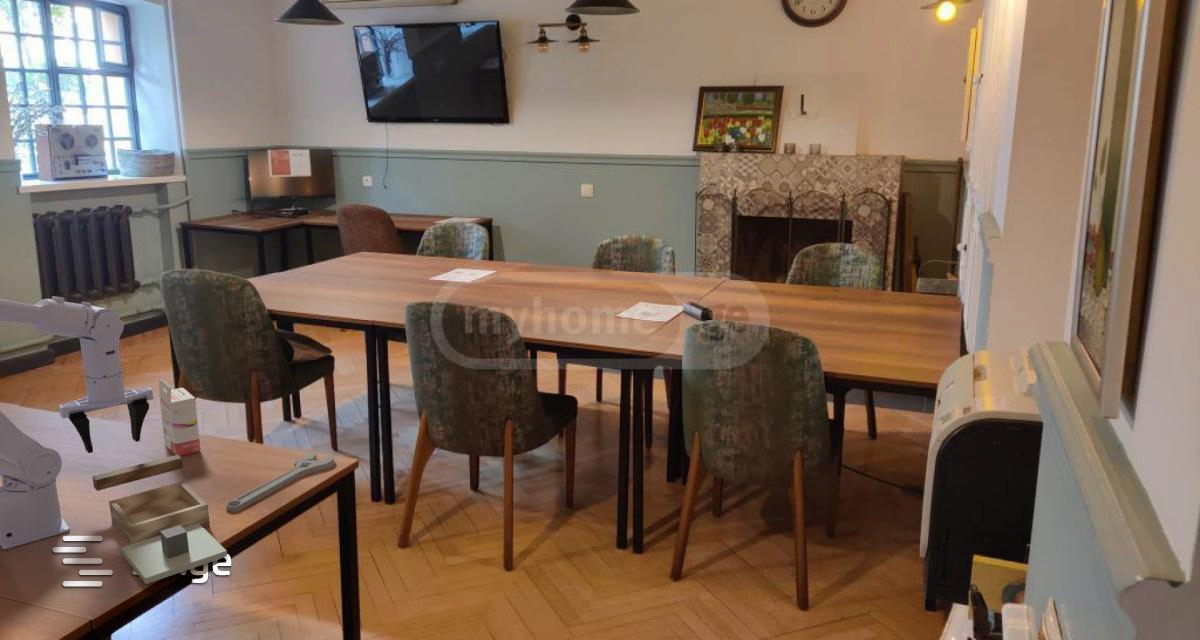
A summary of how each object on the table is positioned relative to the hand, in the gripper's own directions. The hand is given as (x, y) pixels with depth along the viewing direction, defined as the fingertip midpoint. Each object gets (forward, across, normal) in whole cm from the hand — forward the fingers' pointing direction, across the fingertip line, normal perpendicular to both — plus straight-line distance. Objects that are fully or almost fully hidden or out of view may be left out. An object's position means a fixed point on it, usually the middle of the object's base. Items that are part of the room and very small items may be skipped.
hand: (113, 445), depth 155 cm
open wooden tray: (+10, +2, -16) cm, 19 cm away
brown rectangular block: (+5, +2, -6) cm, 8 cm away
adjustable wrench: (+11, +24, -14) cm, 30 cm away
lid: (+10, 0, -29) cm, 31 cm away
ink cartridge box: (+10, +16, +15) cm, 24 cm away
